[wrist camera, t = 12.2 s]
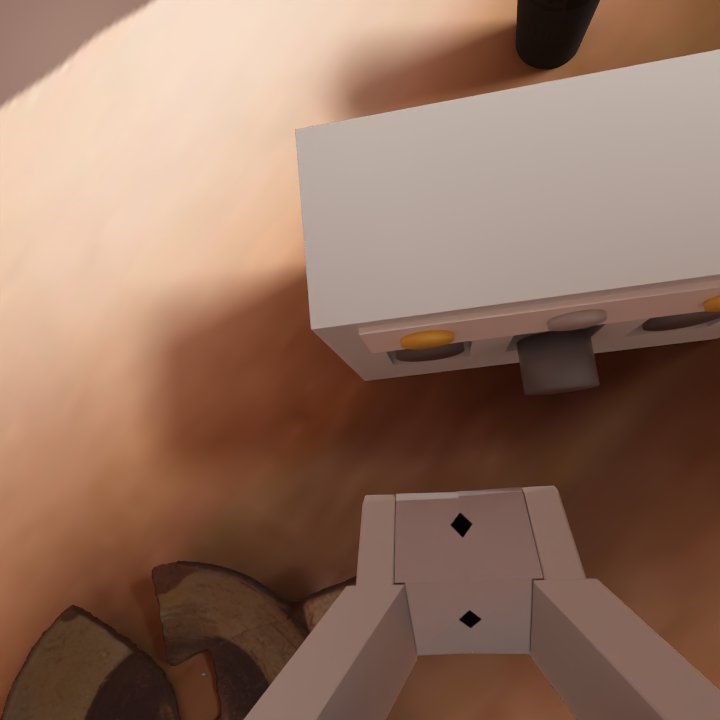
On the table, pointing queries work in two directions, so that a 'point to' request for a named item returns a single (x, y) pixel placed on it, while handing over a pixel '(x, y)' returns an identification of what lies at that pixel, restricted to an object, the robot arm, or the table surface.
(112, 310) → the table surface
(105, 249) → the table surface
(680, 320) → the button
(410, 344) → the console
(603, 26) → the table surface
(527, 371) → the button
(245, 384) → the table surface
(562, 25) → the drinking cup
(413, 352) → the button
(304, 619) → the oil lamp
